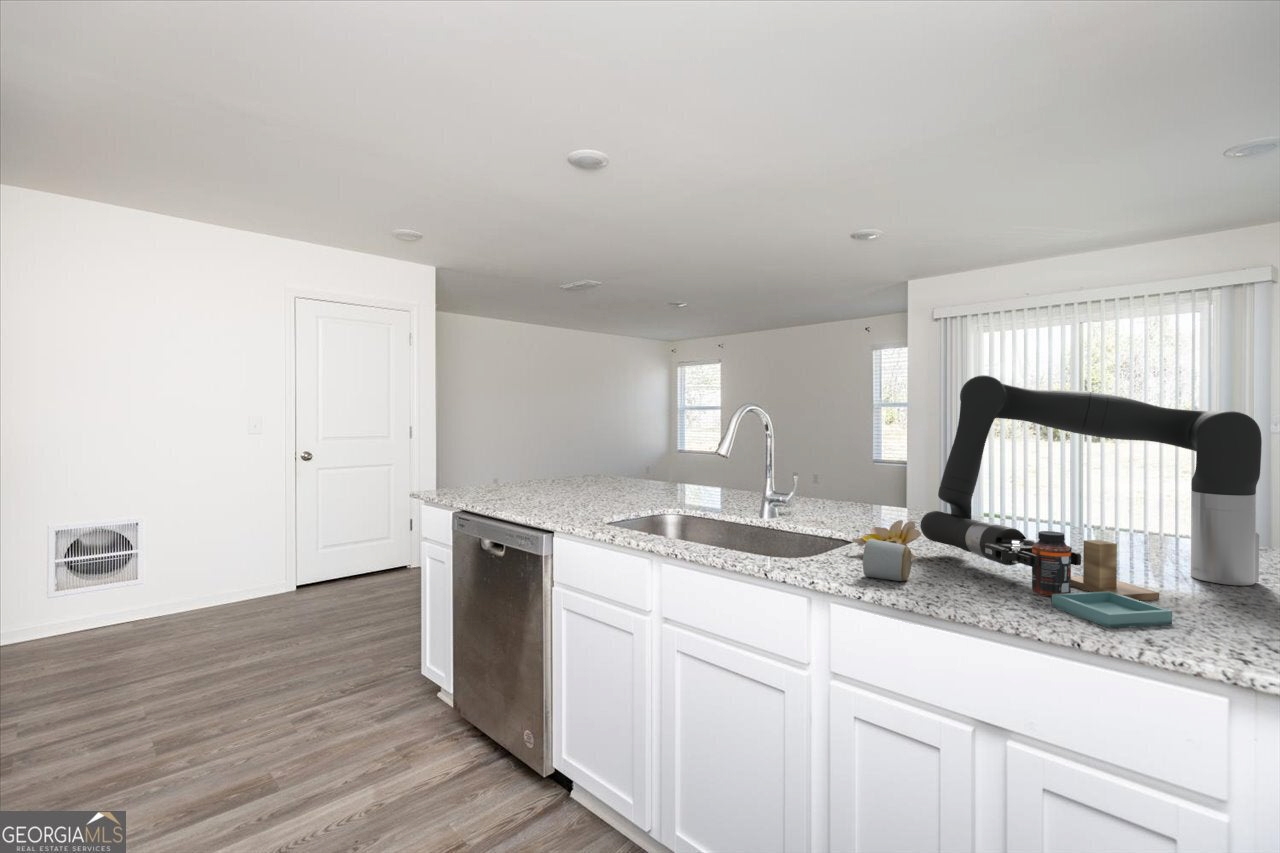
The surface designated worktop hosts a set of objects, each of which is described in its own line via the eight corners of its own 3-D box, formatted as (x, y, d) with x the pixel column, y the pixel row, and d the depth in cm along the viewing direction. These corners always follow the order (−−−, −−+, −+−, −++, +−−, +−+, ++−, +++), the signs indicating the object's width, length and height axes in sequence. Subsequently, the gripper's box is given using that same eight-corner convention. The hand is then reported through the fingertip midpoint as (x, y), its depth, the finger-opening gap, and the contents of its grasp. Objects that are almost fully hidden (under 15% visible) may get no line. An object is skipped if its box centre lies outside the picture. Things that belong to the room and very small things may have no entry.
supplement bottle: (1077, 599, 110) (1077, 536, 110) (1040, 598, 111) (1040, 535, 111) (1061, 590, 116) (1062, 530, 116) (1026, 588, 117) (1026, 529, 117)
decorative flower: (841, 543, 151) (851, 503, 150) (882, 552, 153) (893, 513, 152) (872, 562, 136) (884, 518, 136) (918, 571, 138) (930, 528, 137)
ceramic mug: (905, 586, 120) (905, 546, 120) (861, 580, 124) (862, 541, 124) (915, 574, 129) (915, 537, 129) (874, 569, 133) (874, 533, 133)
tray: (1109, 603, 108) (1109, 591, 108) (1172, 624, 97) (1172, 611, 97) (1051, 606, 106) (1051, 594, 106) (1109, 628, 95) (1109, 614, 95)
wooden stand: (1100, 581, 122) (1100, 534, 122) (1159, 599, 110) (1159, 547, 110) (1063, 583, 121) (1063, 536, 120) (1119, 601, 109) (1119, 549, 109)
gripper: (963, 525, 127) (1022, 541, 111) (1026, 523, 129) (1093, 538, 113) (963, 562, 127) (1022, 583, 111) (1026, 559, 129) (1093, 579, 113)
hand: (1058, 560), depth 112 cm, fingers open, 8 cm apart
